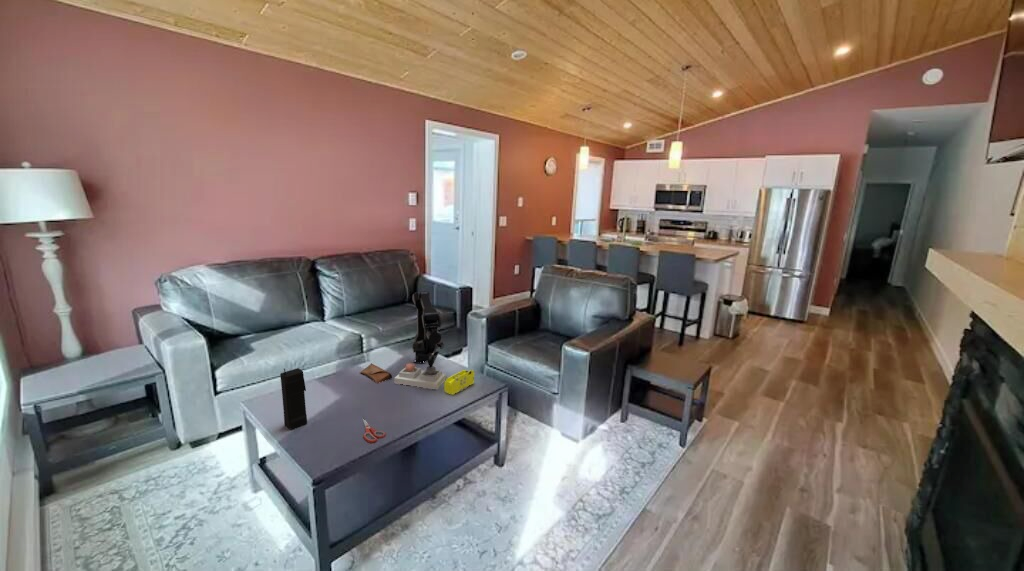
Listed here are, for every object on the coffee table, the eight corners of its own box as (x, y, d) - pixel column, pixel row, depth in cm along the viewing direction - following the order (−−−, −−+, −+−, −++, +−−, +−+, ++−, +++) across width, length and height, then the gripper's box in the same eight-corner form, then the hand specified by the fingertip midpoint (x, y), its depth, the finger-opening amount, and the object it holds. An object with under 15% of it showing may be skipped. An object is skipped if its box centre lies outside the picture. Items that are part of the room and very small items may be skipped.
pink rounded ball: (408, 367, 209) (408, 362, 209) (416, 369, 208) (416, 363, 208) (404, 371, 205) (404, 366, 204) (412, 372, 204) (412, 367, 203)
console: (406, 373, 215) (405, 364, 214) (446, 379, 210) (446, 369, 209) (394, 383, 203) (394, 373, 202) (436, 390, 198) (436, 380, 197)
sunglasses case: (357, 372, 213) (363, 360, 215) (368, 375, 219) (373, 363, 220) (377, 384, 202) (383, 370, 204) (388, 386, 208) (394, 373, 209)
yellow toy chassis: (453, 397, 193) (453, 380, 191) (443, 393, 196) (444, 376, 194) (474, 384, 206) (475, 368, 204) (465, 381, 209) (466, 365, 207)
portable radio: (303, 417, 172) (298, 360, 166) (310, 422, 168) (306, 364, 162) (283, 424, 166) (277, 366, 160) (290, 430, 162) (284, 371, 156)
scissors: (363, 416, 175) (363, 412, 175) (388, 437, 161) (388, 434, 160) (345, 422, 170) (345, 419, 169) (369, 445, 155) (369, 442, 155)
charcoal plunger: (428, 370, 207) (428, 365, 206) (436, 372, 206) (436, 366, 205) (424, 374, 203) (424, 369, 202) (433, 375, 202) (433, 370, 201)
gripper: (423, 328, 211) (423, 357, 214) (406, 341, 193) (406, 372, 196) (444, 331, 208) (444, 360, 212) (428, 344, 190) (428, 375, 194)
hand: (430, 367), depth 203 cm, fingers closed
